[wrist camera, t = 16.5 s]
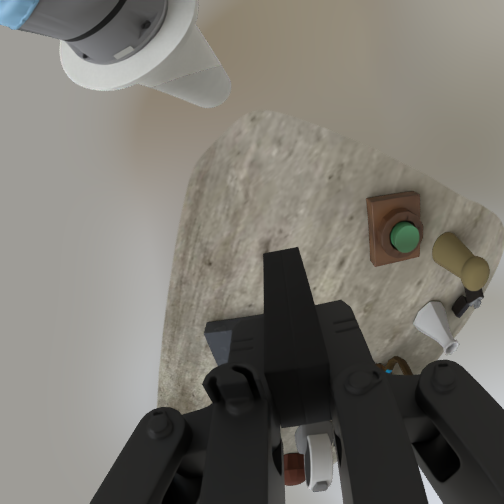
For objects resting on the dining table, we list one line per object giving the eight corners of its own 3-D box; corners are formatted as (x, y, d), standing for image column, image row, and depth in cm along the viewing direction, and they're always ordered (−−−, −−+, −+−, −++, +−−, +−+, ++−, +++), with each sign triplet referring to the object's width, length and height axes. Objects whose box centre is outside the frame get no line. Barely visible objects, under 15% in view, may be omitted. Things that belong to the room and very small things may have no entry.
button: (389, 223, 34) (394, 228, 33) (413, 219, 34) (419, 223, 32) (390, 250, 36) (395, 255, 34) (413, 245, 35) (419, 249, 34)
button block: (365, 198, 37) (376, 205, 33) (412, 190, 36) (426, 197, 32) (370, 260, 41) (379, 272, 37) (413, 251, 40) (424, 261, 36)
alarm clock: (296, 420, 59) (301, 484, 42) (336, 416, 58) (348, 477, 42) (293, 446, 65) (296, 499, 49) (328, 442, 65) (335, 494, 48)
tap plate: (206, 322, 46) (203, 334, 43) (264, 313, 45) (264, 325, 42) (225, 368, 51) (224, 380, 48) (276, 362, 50) (277, 374, 47)
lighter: (455, 297, 46) (458, 320, 43) (449, 295, 46) (452, 318, 43) (481, 280, 39) (486, 304, 37) (476, 277, 39) (481, 302, 36)
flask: (428, 333, 47) (448, 366, 38) (406, 325, 46) (427, 360, 37) (449, 306, 44) (473, 336, 35) (429, 295, 43) (455, 327, 34)
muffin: (289, 449, 66) (290, 477, 57) (316, 454, 68) (319, 480, 59) (266, 461, 70) (266, 486, 61) (293, 465, 73) (295, 489, 63)
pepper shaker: (428, 243, 39) (465, 275, 29) (453, 225, 38) (493, 252, 27) (436, 270, 41) (469, 304, 31) (460, 253, 39) (495, 282, 29)
